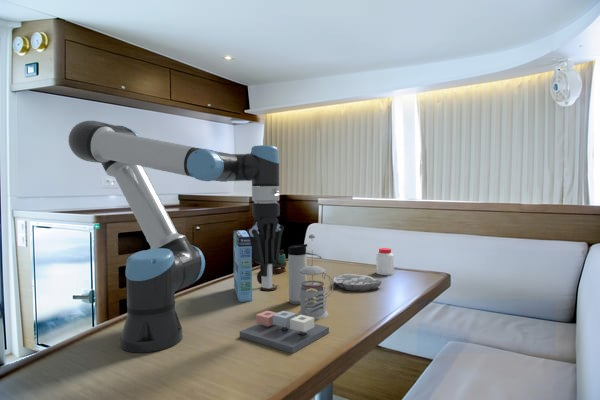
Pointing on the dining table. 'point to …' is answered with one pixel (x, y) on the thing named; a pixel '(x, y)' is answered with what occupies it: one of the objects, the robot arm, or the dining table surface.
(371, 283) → the brain slice
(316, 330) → the keyboard base
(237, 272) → the gum box
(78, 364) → the dining table surface
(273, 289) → the compass
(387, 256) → the pill bottle
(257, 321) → the pink cube
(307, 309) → the french press
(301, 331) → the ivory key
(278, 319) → the grey key
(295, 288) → the travel mug
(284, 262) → the binoculars
